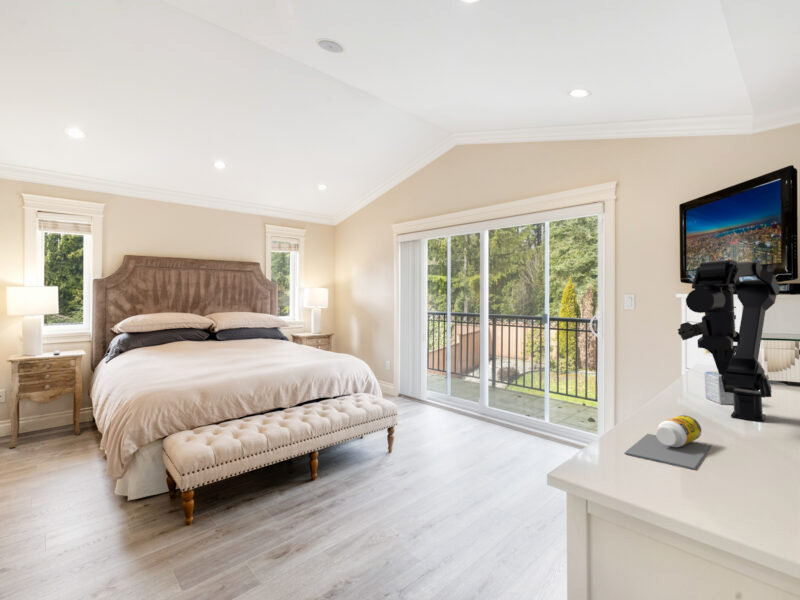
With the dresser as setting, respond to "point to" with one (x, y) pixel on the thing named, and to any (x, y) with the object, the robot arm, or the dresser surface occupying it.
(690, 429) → the supplement bottle
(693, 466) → the mat
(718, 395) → the medicine box
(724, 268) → the robot arm
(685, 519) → the dresser surface
